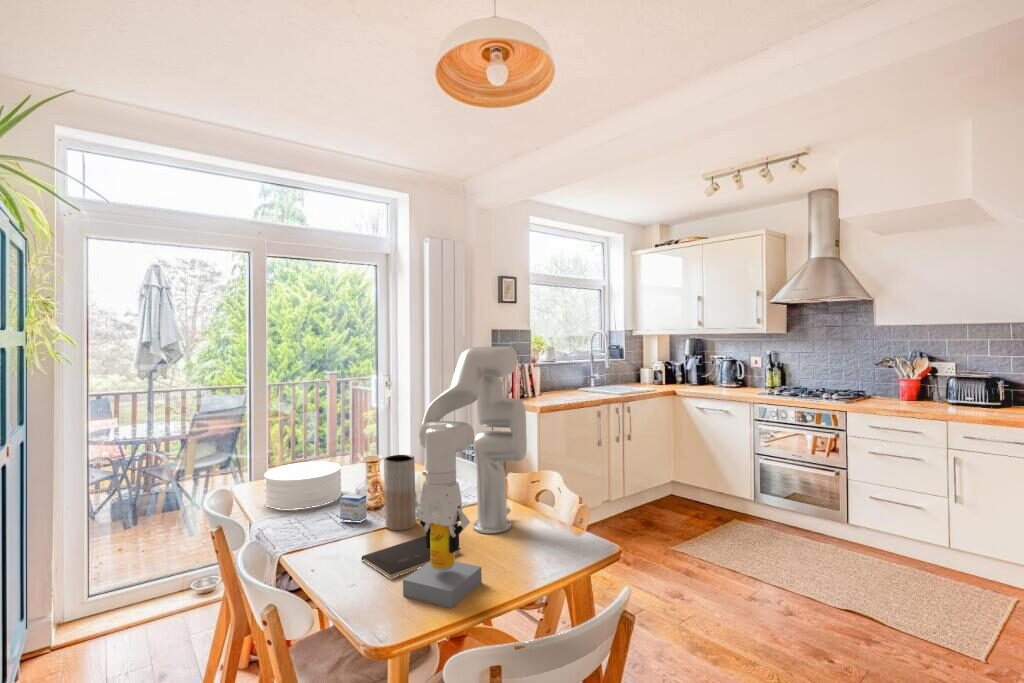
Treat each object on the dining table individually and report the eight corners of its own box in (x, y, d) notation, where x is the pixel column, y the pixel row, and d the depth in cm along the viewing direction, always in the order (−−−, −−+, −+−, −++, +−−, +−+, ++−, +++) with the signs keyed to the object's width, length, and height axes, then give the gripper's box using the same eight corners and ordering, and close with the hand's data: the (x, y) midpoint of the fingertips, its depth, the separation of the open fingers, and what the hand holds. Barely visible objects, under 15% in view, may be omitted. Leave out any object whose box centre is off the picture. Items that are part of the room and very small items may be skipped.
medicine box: (339, 522, 179) (339, 497, 179) (346, 518, 184) (346, 493, 184) (360, 524, 178) (359, 498, 177) (367, 519, 182) (366, 494, 182)
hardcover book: (461, 555, 152) (460, 547, 152) (390, 582, 136) (390, 573, 136) (430, 540, 163) (429, 533, 163) (361, 563, 148) (361, 555, 148)
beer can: (428, 563, 132) (427, 504, 132) (451, 559, 135) (450, 501, 134) (433, 573, 127) (432, 512, 127) (457, 569, 129) (456, 508, 129)
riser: (436, 572, 140) (435, 557, 140) (481, 582, 134) (481, 566, 134) (403, 595, 128) (402, 579, 127) (451, 608, 121) (451, 591, 121)
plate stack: (265, 494, 214) (264, 466, 214) (337, 485, 226) (336, 458, 225) (264, 515, 188) (263, 483, 188) (345, 503, 200) (344, 473, 200)
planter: (393, 533, 168) (392, 463, 168) (380, 525, 176) (378, 457, 176) (421, 525, 175) (419, 458, 174) (406, 518, 182) (405, 453, 182)
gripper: (403, 477, 131) (405, 548, 131) (462, 484, 123) (464, 560, 123) (421, 469, 138) (423, 537, 138) (478, 476, 130) (480, 548, 130)
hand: (442, 548), depth 131 cm, fingers closed on beer can, 6 cm apart
